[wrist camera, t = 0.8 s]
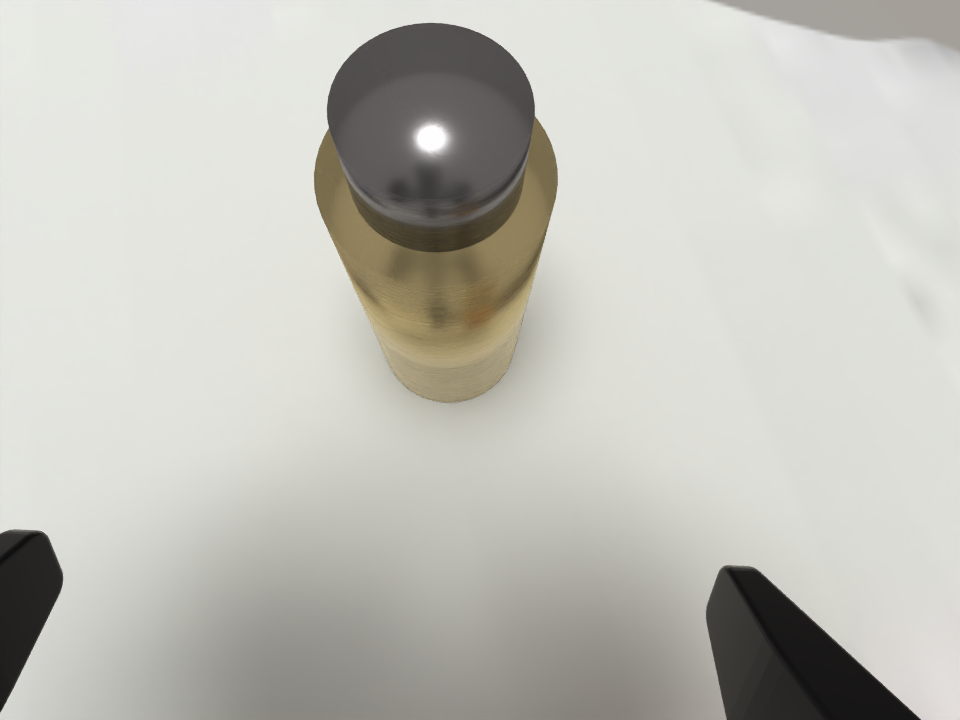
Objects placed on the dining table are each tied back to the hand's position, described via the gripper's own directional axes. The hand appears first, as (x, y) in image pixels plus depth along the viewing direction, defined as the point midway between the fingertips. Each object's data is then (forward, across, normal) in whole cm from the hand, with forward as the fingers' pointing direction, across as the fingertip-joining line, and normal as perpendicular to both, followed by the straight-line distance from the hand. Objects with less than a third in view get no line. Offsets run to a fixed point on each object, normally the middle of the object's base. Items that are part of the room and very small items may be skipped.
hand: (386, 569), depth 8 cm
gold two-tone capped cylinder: (+15, 0, +4) cm, 15 cm away
